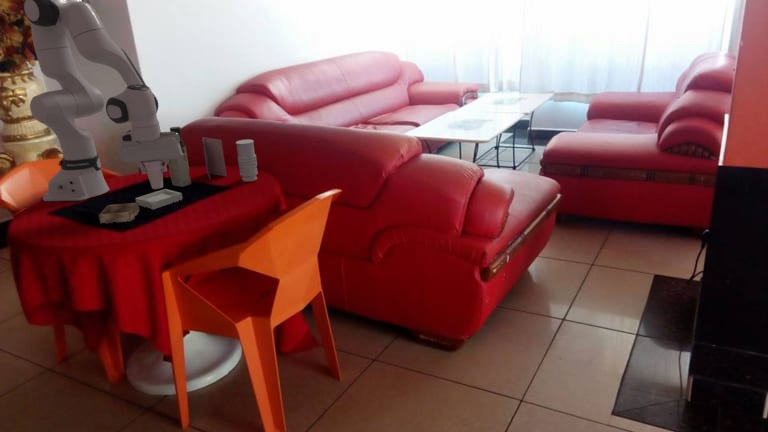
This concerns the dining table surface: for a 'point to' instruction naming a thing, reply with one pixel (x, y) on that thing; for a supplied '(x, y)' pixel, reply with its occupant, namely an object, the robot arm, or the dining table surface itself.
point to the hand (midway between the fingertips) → (154, 172)
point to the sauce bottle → (183, 147)
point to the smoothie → (154, 173)
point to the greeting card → (214, 156)
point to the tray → (159, 199)
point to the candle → (247, 160)
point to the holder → (119, 213)
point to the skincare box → (179, 171)
